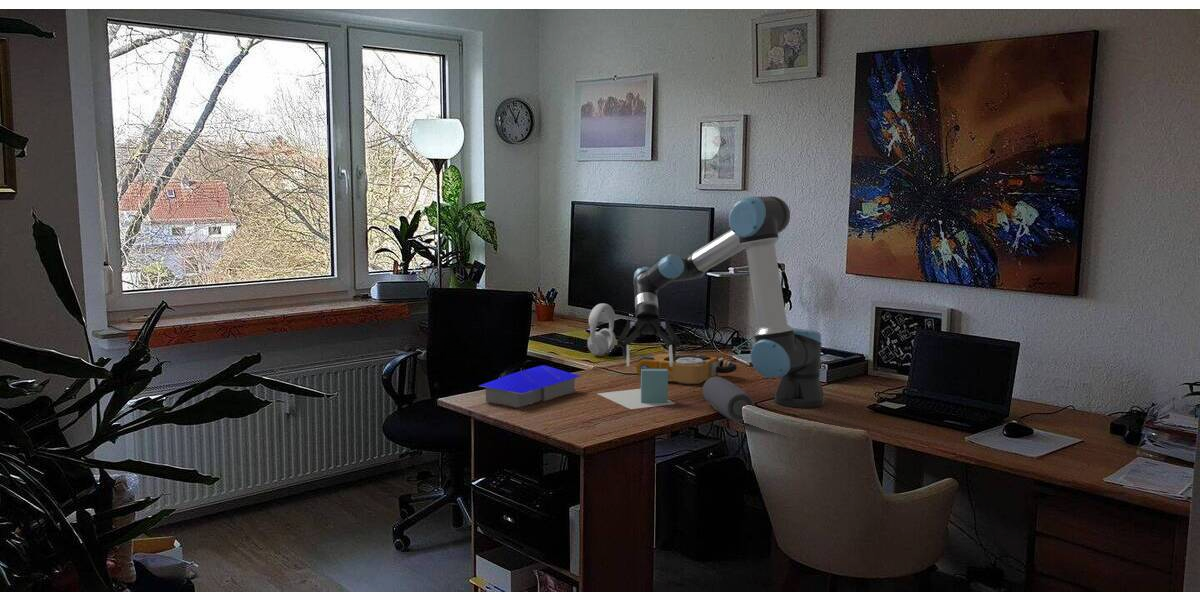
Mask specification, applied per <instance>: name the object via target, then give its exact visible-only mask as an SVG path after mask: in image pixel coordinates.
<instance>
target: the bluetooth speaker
mask: <svg viewBox="0 0 1200 600" xmlns="http://www.w3.org/2000/svg"><path fill="white" fill-rule="evenodd" d="M701 391H702V397H703V398H704V399H705V401H706V402H707V403H708V404H709V405H710V406H711V407H712V408H713V409H715V410H716V411H717V412H718V414H721V416H722V417H725V419H726V420H727V421H731V422H732V421H733V422H737V423H740V422H744V421H743V417H742V407H743V406H746V405H752V406H755V403H754V400H753V398H752V397H751V396H750V394H748V393H747V392H746V391H745V390H743V389H742V388H740V387H739V386H738V385H736V384H735V383H733V382H732V381H729V380H728V379H726V378H724V377H720V376H715V377H711V378H709V379H708V380H705V381H704V384H703V385H702V390H701Z"/></svg>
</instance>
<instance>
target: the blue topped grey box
mask: <svg viewBox="0 0 1200 600" xmlns="http://www.w3.org/2000/svg"><path fill="white" fill-rule="evenodd" d="M579 378H582V376H581V375H579V374H575V373H572V372H569V371H565V370H561V369H558V368H555V367H551V366H548V365H545V364H543V365H539V366H538V365H537V366H534V367H531V368H527V369H523V370H519V371H517V372H512V373H510V374H507V375H505V376H502V377H499V378H496V379H494V380H491V381H488V382H485V383H482V384H480V385H478V387H480V388H481V387H482V388H485V402H487V403H490V402H492V403H491V404H496V403H498V404H497V405H501V404H504V405H503V406H506V405H509V406H508V407H511V406H514V407H513V408H516V407H520V408H522V407H521V406H523V407H525V406H524V405H526V406H528V405H527V404H529V405H531V404H530V403H532V404H535V403H534V402H536V403H538V402H537V401H539V402H541V401H540V400H543V401H542V402H546V401H545V400H547V401H549V400H548V399H550V400H553V399H556V398H555V397H557V398H559V397H558V396H560V397H563V396H566V395H569V394H573V393H575V383H576V382H575V379H579ZM572 392H573V393H572ZM565 394H566V395H565ZM562 395H563V396H562ZM552 398H553V399H552Z"/></svg>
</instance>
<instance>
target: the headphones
mask: <svg viewBox="0 0 1200 600" xmlns="http://www.w3.org/2000/svg"><path fill="white" fill-rule="evenodd" d="M603 312H604V315H605V317H606V319H607V321H608V328H605V327H604V328H601V329H600V330H599V331H597V326H598V324H599V320H600V318H601V314H602V313H603ZM615 319H616V313H615V311H614V309H613V307H612V305H610V304H608V303H598V304H596V305H595V306H594V307H593V308H592V310H591V311H590V313H589V316H588V326H589V329H590V330H589V332H590V335H589V337H588V338H587V342H586V343H587V348H588V350H589V351H590V352H591V354H593V356H596V355H598V356H597V357H603V356H604V355H605V353H606V354H608V353H607V352H609V353H611V352H612V351H613V350H612V349H615V346H616V344H617V339H616V335H615V333H614V327H615ZM611 350H612V351H611ZM610 351H611V352H610Z"/></svg>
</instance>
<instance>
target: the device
mask: <svg viewBox="0 0 1200 600" xmlns="http://www.w3.org/2000/svg"><path fill="white" fill-rule="evenodd" d="M737 367H738V366H737V365H736V364H735V363H733V362H732V361H729V360H728V359H725V358H723V357H720V358H719V357H717V356H716V357H715V356H707V355H700V354H689V353H685V354H678V353H676V355H675V357H673V366H672V367H670V360H669V353H661V354H655V355H651V356H643V357H642V358H640V359H639V360H638V361H637V362H636V368H635V369H636V373H637V375H638V376H639V377H640V378H641V369H667V370H668V382H672V383H673V382H678V383H679V384H685V385H698V384H702V383H703V382H706V381H707V380H708V379H709V378H711V377H718V375H719V374H730V373H733V372H735V371H737Z"/></svg>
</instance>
